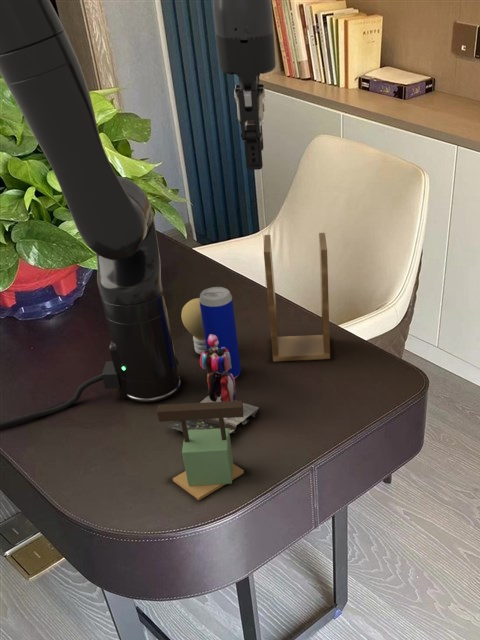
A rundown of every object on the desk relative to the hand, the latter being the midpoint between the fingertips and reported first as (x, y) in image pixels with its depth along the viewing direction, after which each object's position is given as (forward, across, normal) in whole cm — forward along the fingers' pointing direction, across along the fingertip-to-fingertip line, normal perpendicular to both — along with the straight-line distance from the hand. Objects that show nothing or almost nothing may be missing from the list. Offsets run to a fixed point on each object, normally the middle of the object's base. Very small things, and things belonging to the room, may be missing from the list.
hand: (255, 159), depth 104 cm
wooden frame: (+34, -4, +5) cm, 35 cm away
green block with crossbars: (+34, +30, -9) cm, 46 cm away
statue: (+34, +17, -9) cm, 39 cm away
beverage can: (+34, +3, -8) cm, 35 cm away
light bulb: (+34, -5, -12) cm, 37 cm away
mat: (+34, +30, -9) cm, 46 cm away
